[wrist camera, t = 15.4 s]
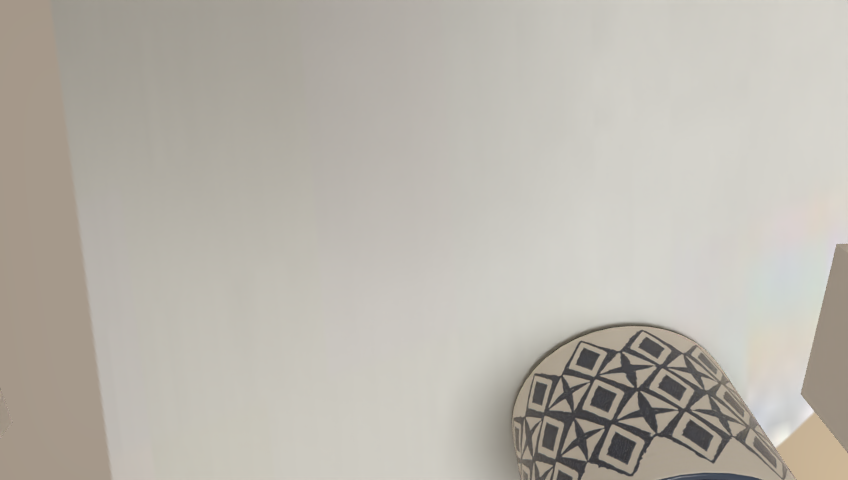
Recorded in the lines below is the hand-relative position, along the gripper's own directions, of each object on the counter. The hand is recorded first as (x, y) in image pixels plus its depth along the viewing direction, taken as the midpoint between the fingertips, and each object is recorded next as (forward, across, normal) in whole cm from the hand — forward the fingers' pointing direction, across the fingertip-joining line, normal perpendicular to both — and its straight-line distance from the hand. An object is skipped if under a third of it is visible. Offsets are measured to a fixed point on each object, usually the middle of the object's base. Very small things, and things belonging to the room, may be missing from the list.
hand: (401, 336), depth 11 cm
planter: (+32, +14, -28) cm, 45 cm away
